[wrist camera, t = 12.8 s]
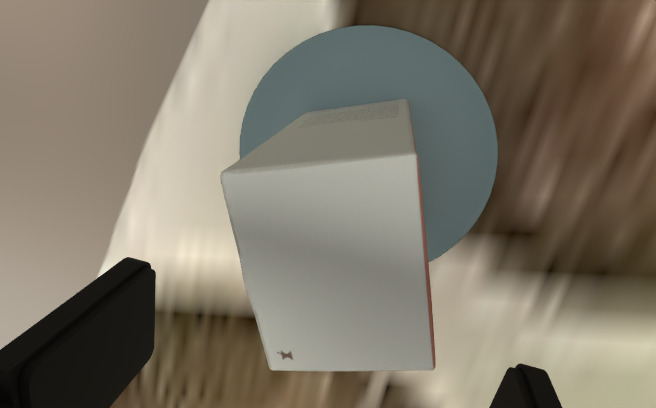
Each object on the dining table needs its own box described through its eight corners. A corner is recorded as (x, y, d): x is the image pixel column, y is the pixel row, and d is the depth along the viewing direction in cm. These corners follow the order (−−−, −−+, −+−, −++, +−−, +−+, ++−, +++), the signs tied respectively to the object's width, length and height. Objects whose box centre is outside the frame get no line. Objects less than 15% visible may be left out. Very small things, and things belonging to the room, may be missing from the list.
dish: (534, 56, 22) (541, 56, 21) (448, 290, 29) (450, 300, 28) (260, 2, 24) (253, 0, 23) (236, 237, 30) (229, 244, 29)
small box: (421, 222, 26) (438, 377, 14) (325, 229, 27) (265, 376, 15) (410, 94, 23) (419, 150, 11) (304, 109, 24) (210, 173, 12)
